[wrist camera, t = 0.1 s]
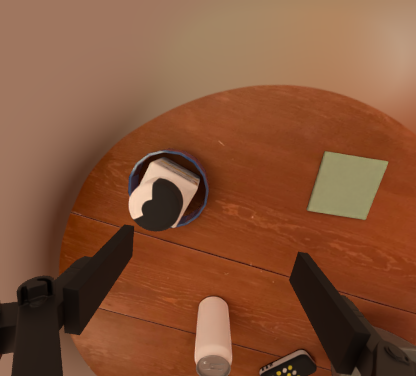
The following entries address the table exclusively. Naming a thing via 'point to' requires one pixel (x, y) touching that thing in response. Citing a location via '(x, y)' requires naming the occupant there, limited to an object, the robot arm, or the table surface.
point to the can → (213, 338)
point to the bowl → (411, 350)
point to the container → (163, 195)
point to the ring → (137, 168)
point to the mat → (346, 185)
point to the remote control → (291, 365)
